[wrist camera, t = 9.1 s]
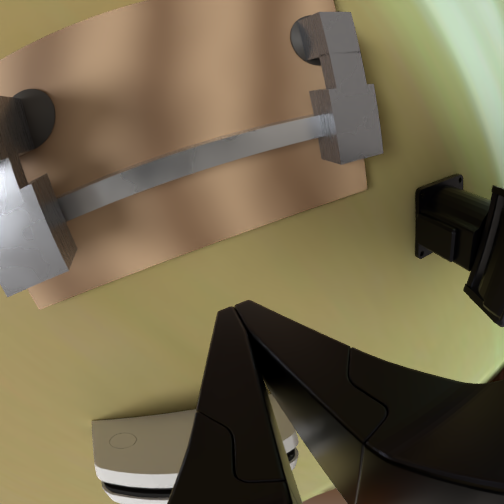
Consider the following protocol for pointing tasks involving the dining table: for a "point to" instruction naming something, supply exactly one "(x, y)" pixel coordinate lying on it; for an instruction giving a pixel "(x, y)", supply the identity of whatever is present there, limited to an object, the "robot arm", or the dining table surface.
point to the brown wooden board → (171, 126)
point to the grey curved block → (155, 453)
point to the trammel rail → (270, 135)
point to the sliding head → (27, 212)
